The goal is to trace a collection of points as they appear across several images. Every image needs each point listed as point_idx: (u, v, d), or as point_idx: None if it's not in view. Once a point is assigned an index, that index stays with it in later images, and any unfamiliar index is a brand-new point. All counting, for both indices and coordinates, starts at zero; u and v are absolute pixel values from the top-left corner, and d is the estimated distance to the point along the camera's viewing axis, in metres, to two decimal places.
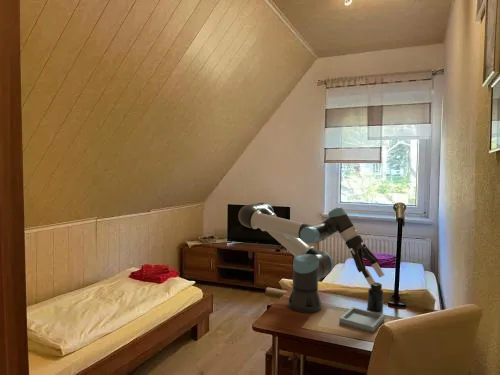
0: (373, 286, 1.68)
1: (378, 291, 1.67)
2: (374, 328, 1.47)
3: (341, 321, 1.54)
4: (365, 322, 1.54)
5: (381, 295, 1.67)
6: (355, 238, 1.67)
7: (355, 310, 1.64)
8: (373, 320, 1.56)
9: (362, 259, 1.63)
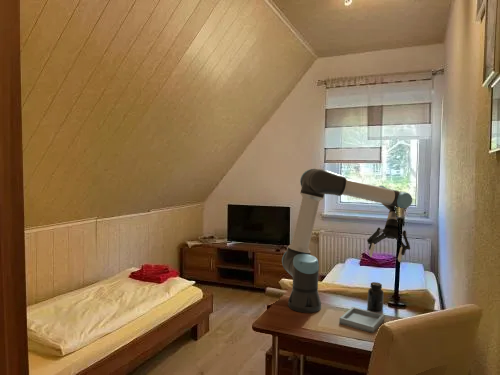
0: (373, 286, 1.68)
1: (378, 291, 1.67)
2: (374, 328, 1.47)
3: (341, 321, 1.54)
4: (365, 322, 1.54)
5: (381, 295, 1.67)
6: None
7: (355, 310, 1.64)
8: (373, 320, 1.56)
9: None
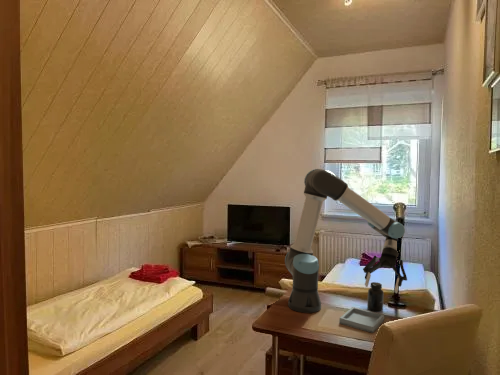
0: (373, 286, 1.68)
1: (378, 291, 1.67)
2: (374, 328, 1.47)
3: (341, 321, 1.54)
4: (365, 322, 1.54)
5: (381, 295, 1.67)
6: None
7: (355, 310, 1.64)
8: (373, 320, 1.56)
9: None
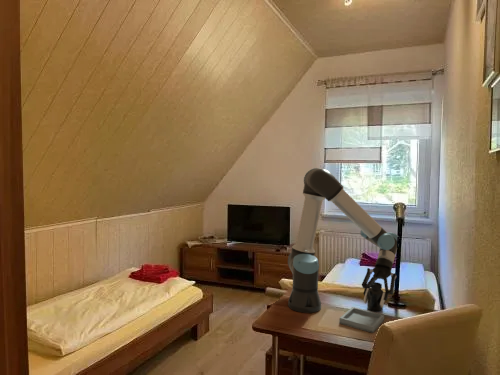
0: (373, 286, 1.68)
1: (378, 290, 1.67)
2: (374, 328, 1.47)
3: (341, 321, 1.54)
4: (365, 322, 1.54)
5: (381, 295, 1.67)
6: None
7: (355, 310, 1.64)
8: (373, 320, 1.56)
9: None
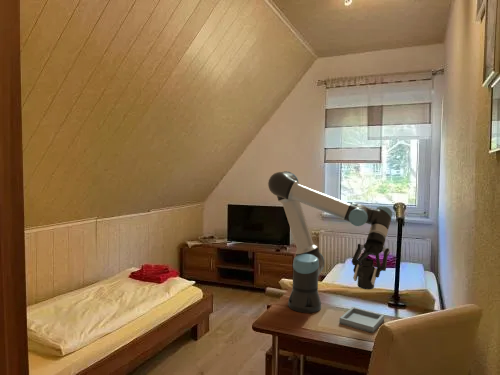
0: (364, 262, 1.54)
1: (370, 267, 1.53)
2: (374, 328, 1.47)
3: (341, 321, 1.54)
4: (365, 322, 1.54)
5: (373, 271, 1.53)
6: None
7: (355, 310, 1.64)
8: (373, 320, 1.56)
9: None
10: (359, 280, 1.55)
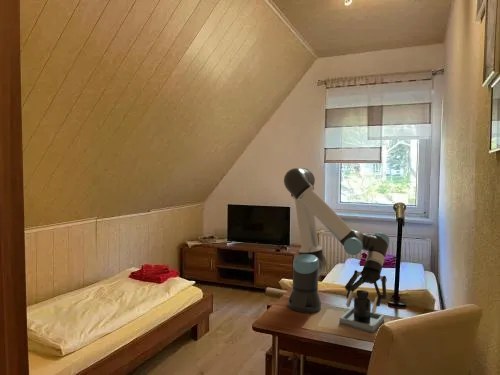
0: (359, 294, 1.54)
1: (365, 299, 1.54)
2: (374, 328, 1.47)
3: (341, 321, 1.54)
4: (365, 322, 1.54)
5: (368, 304, 1.53)
6: None
7: None
8: (373, 320, 1.56)
9: None
10: (355, 313, 1.55)
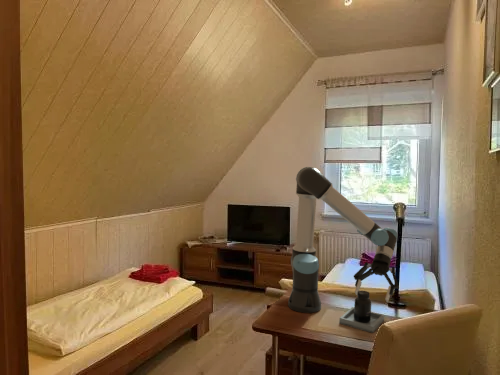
0: (360, 295, 1.54)
1: (366, 300, 1.53)
2: (374, 328, 1.47)
3: (341, 321, 1.54)
4: None
5: (368, 305, 1.53)
6: None
7: None
8: (373, 320, 1.56)
9: None
10: (355, 313, 1.55)
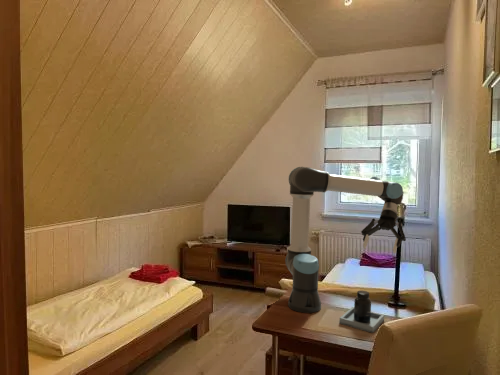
0: (360, 295, 1.54)
1: (365, 300, 1.53)
2: (374, 328, 1.47)
3: (341, 321, 1.54)
4: None
5: (368, 305, 1.53)
6: None
7: None
8: (373, 320, 1.56)
9: None
10: (355, 313, 1.55)
